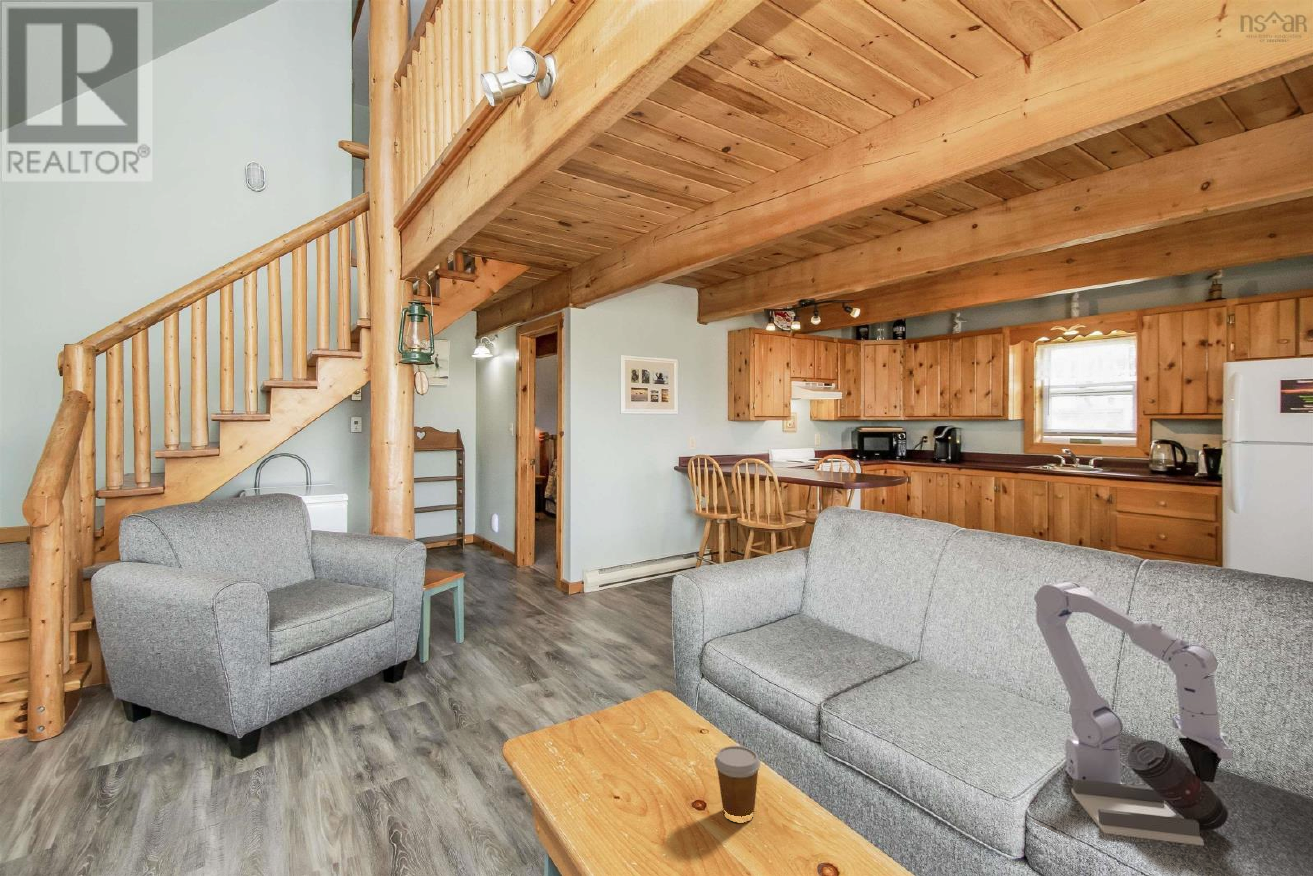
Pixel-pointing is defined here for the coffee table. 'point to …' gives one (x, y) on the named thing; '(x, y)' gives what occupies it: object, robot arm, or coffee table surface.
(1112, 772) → the robot arm
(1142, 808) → the lens cradle
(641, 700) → the coffee table surface
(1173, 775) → the dark patterned cylinder
